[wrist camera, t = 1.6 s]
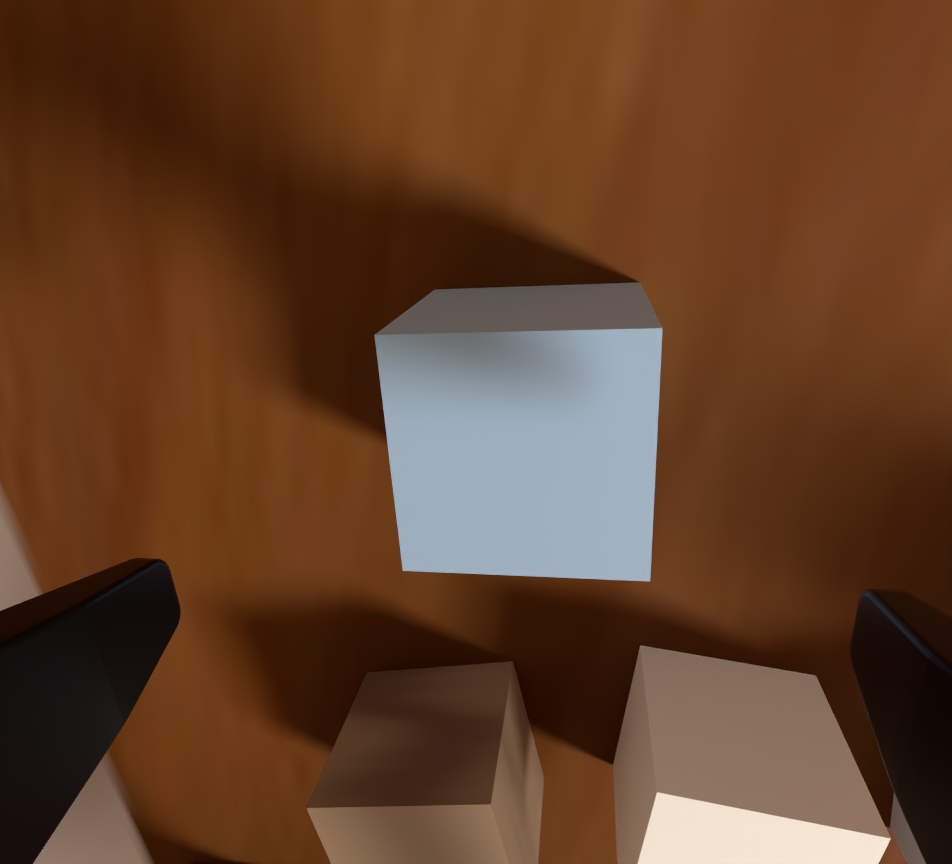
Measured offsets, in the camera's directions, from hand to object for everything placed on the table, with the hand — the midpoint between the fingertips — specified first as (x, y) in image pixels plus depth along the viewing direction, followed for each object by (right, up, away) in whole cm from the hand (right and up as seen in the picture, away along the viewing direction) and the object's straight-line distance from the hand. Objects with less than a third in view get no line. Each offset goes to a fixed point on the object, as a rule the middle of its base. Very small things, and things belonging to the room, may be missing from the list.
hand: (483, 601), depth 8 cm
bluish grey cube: (+1, +3, +8) cm, 9 cm away
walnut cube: (-1, -8, +13) cm, 15 cm away
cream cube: (+7, -7, +11) cm, 15 cm away
